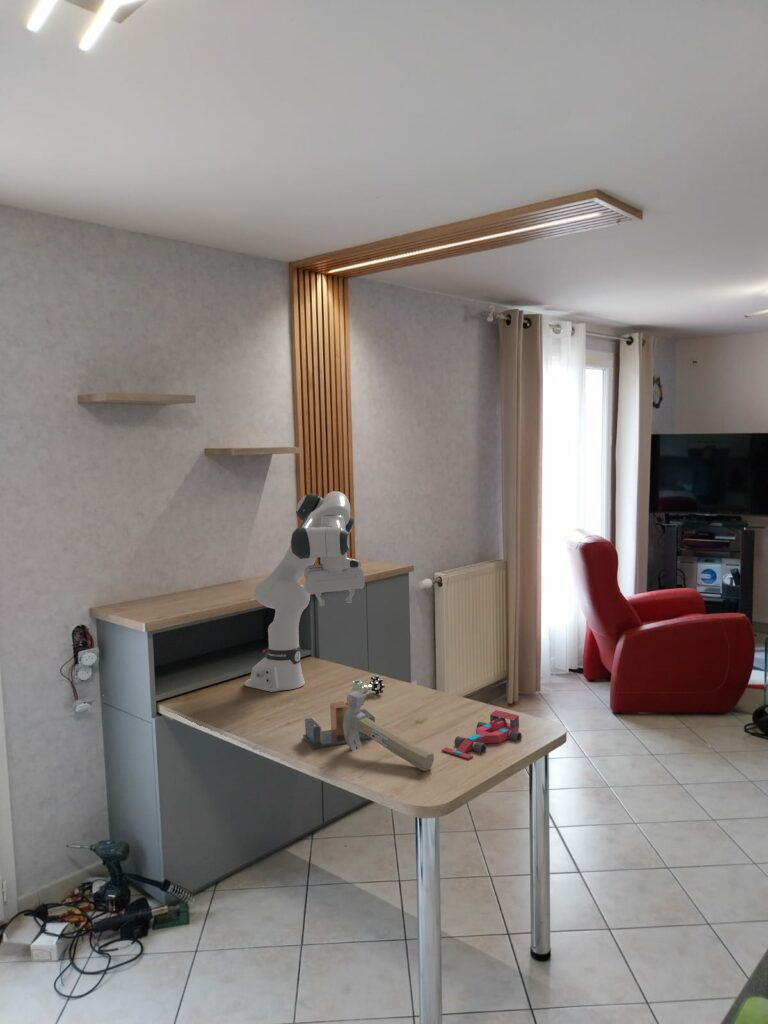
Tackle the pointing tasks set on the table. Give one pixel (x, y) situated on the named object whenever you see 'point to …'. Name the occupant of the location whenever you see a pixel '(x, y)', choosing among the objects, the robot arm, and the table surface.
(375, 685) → the valve
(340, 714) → the wooden rectangular block
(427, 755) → the hammer
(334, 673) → the table surface
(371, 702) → the table surface
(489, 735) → the race car
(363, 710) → the vise jaws
